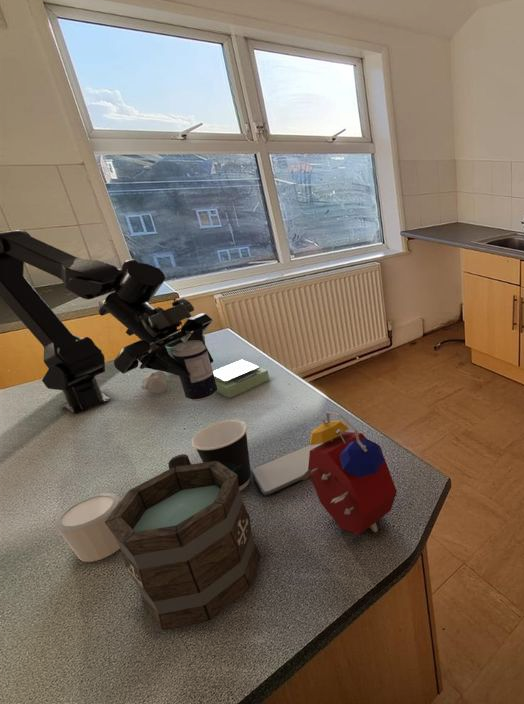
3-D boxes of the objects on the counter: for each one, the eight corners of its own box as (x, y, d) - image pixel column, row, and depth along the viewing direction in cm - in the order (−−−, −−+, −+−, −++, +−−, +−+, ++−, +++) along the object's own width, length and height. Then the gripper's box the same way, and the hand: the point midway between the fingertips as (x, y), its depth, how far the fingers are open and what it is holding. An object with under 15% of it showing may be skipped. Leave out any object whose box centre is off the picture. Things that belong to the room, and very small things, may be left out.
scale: (206, 386, 106) (203, 375, 105) (246, 369, 114) (244, 359, 113) (229, 398, 102) (226, 387, 100) (269, 379, 110) (267, 369, 109)
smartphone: (349, 454, 83) (263, 494, 73) (349, 459, 83) (264, 498, 73) (330, 435, 88) (249, 469, 78) (331, 438, 88) (250, 473, 79)
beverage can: (220, 386, 96) (207, 337, 91) (215, 399, 91) (201, 349, 86) (190, 391, 94) (175, 341, 89) (183, 405, 89) (167, 353, 84)
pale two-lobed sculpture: (148, 388, 107) (170, 377, 109) (148, 402, 101) (171, 390, 103) (136, 375, 105) (159, 364, 107) (135, 389, 99) (159, 376, 101)
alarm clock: (401, 526, 69) (390, 422, 61) (354, 565, 62) (335, 454, 55) (347, 484, 77) (331, 388, 69) (300, 515, 70) (277, 412, 63)
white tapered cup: (98, 570, 61) (80, 534, 58) (60, 561, 62) (40, 525, 59) (145, 530, 67) (131, 496, 64) (109, 523, 68) (94, 489, 66)
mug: (268, 590, 58) (244, 506, 53) (141, 654, 51) (97, 564, 45) (248, 500, 73) (228, 427, 67) (147, 539, 66) (114, 461, 60)
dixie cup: (228, 507, 72) (212, 454, 67) (197, 492, 74) (179, 440, 70) (270, 476, 78) (257, 426, 74) (240, 463, 81) (226, 415, 77)
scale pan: (208, 375, 105) (207, 373, 105) (242, 361, 112) (242, 359, 112) (225, 383, 102) (225, 381, 102) (260, 368, 109) (259, 366, 108)
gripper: (106, 307, 75) (179, 369, 78) (194, 277, 92) (251, 329, 95) (83, 344, 79) (153, 401, 82) (172, 309, 96) (227, 357, 99)
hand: (200, 369), depth 89 cm, fingers closed on beverage can, 5 cm apart
